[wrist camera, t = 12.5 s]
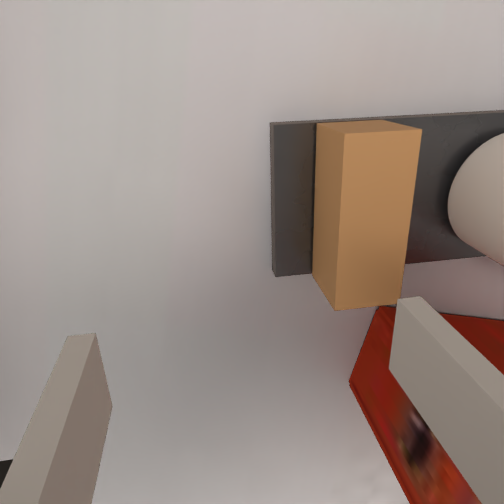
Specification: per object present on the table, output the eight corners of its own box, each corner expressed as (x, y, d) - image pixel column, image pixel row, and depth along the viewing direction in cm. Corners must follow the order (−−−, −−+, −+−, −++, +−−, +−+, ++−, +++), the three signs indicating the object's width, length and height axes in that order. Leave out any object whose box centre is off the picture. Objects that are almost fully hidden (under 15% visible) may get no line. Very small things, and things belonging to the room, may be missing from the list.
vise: (272, 269, 29) (293, 316, 23) (269, 122, 25) (294, 136, 19) (596, 237, 32) (683, 272, 27) (641, 102, 28) (755, 110, 22)
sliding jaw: (312, 275, 28) (334, 310, 24) (316, 123, 24) (344, 133, 20) (368, 269, 28) (399, 303, 24) (381, 119, 24) (422, 129, 20)
